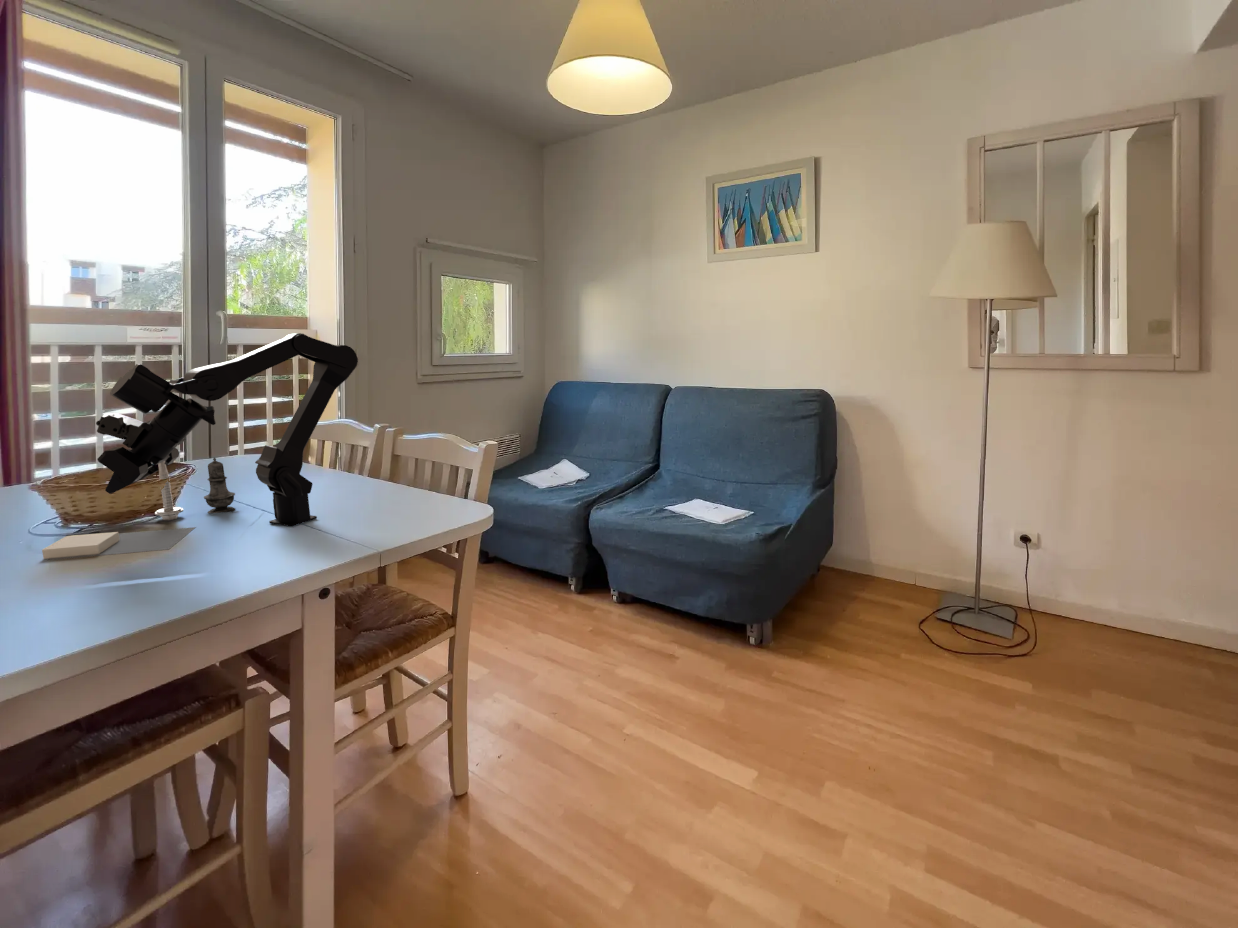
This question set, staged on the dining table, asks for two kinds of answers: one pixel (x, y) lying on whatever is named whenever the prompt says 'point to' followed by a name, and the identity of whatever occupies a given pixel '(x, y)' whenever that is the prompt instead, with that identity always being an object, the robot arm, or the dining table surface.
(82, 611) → the dining table surface
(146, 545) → the mat
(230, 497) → the salt shaker
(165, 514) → the screw
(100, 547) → the tile
